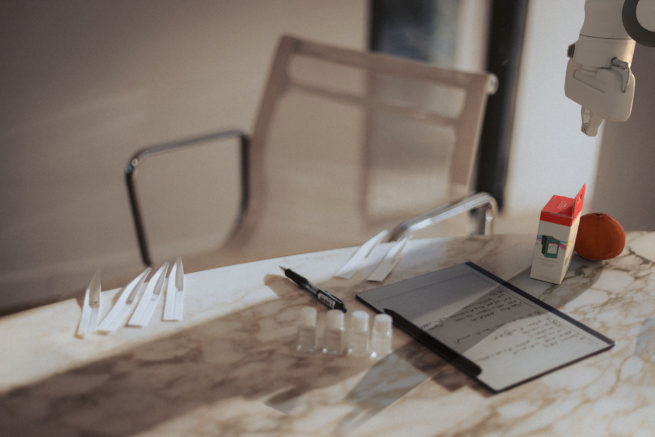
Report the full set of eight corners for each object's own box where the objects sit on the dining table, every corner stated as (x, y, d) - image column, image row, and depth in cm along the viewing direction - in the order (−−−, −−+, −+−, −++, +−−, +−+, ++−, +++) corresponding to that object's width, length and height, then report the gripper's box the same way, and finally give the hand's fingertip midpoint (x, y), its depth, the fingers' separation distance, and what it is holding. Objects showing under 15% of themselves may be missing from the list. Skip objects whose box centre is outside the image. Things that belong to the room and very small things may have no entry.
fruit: (555, 246, 110) (563, 205, 107) (602, 245, 112) (611, 203, 109) (580, 270, 102) (589, 225, 99) (630, 267, 104) (641, 223, 100)
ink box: (541, 258, 106) (555, 176, 100) (571, 265, 104) (588, 182, 98) (528, 278, 99) (543, 191, 94) (560, 286, 97) (577, 198, 91)
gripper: (652, 64, 94) (633, 152, 100) (598, 46, 113) (584, 120, 119) (611, 63, 94) (593, 151, 100) (564, 45, 113) (551, 119, 119)
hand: (588, 134), depth 109 cm, fingers closed
